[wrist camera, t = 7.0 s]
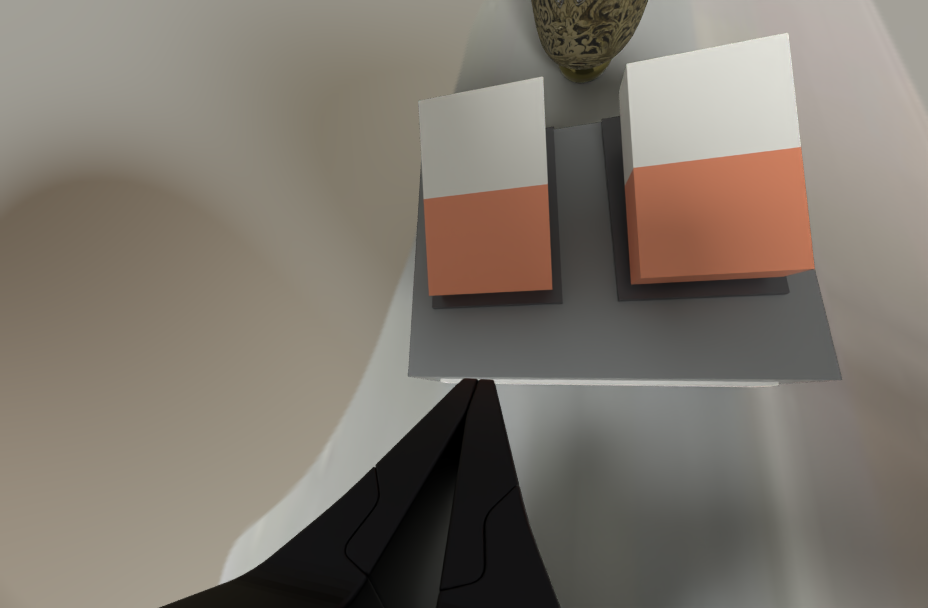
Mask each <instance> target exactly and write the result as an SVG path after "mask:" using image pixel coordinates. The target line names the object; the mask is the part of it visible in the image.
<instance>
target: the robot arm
mask: <svg viewBox="0 0 928 608" xmlns="http://www.w3.org/2000/svg"><path fill="white" fill-rule="evenodd" d="M159 608H561V607H560V604H559V602H558V599H557V597H556V594H555V592H554V589H553V586H552V584H551V581H550V579H549V576H548V573H547V571H546V568H545V566H544V563H543V560H542V558H541V555H540V553H539V550H538V547H537V544H536V541H535V538H534V536H533V533H532V530H531V527H530V524H529V520H528V516H527V513H526V509H525V506H524V502H523V498H522V494H521V489H520V487H519V482H518V478H517V473H516V469H515V465H514V461H513V457H512V452H511V448H510V444H509V440H508V436H507V432H506V427H505V423H504V419H503V415H502V411H501V406H500V402H499V398H498V394H497V390H496V386H495V382H494V380H491V379H480V380H478V379H474V378H464V379H462V380H461V381H460V382H459V383H458V384H457V385H456V386H455V387H454V388H453V389H452V390H451V391H450V392H449V393H448V394H447V395H446V396H445V397H444V398H443V399H442V400H441V401H440V402H439V403H438V404H437V405H436V406H435V407H434V408H433V409H432V410H431V411H430V412H429V413H428V414H427V415H426V416H425V417H423V418H422V419H421V420H420V421H419V422H418V423H417V424H416V425H415V426H414V427H413V428H412V429H411V430H410V431H409V432H408V433H407V434H406V435H405V436H404V437H403V438H402V439H401V440H400V441H399V442H398V443H397V444H396V445H395V446H394V447H393V448H392V449H391V450H390V451H389V452H388V453H387V454H386V455H385V456H384V457H383V458H382V459H381V460H380V461H379V462H378V463H377V464H376V468H375V467H373V468H372V469H371V470H370V471H369V472H368V473H367V474H366V475H365V476H364V477H363V478H362V479H361V480H359V481H358V482H357V483H356V484H355V485H354V486H353V487H352V488H351V489H350V490H349V491H348V492H347V493H346V494H345V495H343V496H342V497H341V498H340V499H339V500H338V501H337V502H335V503H334V504H333V505H332V506H331V507H330V508H328V509H327V510H326V511H325V512H324V513H323V514H321V515H320V516H319V517H318V518H317V519H315V520H314V521H313V522H312V523H311V524H309V525H308V526H307V527H306V528H304V529H303V530H302V531H301V532H300V533H298V534H297V535H296V536H295V537H294V538H292V539H291V540H290V541H289V542H288V543H286V544H285V545H284V546H283V547H282V548H280V549H279V550H278V551H277V552H275V553H274V554H273V555H272V556H270V557H269V558H268V559H267V560H265V561H264V562H263V563H261V564H260V565H258V566H257V567H255V568H254V569H252V570H250V571H249V572H247V573H245V574H244V575H242V576H240V577H238V578H236V579H233V580H231V581H228V582H226V583H223V584H221V585H218V586H215V587H213V588H210V589H207V590H205V591H202V592H199V593H197V594H194V595H191V596H189V597H186V598H184V599H181V600H178V601H175V602H173V603H170V604H167V605H165V606H162V607H159Z"/></svg>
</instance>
